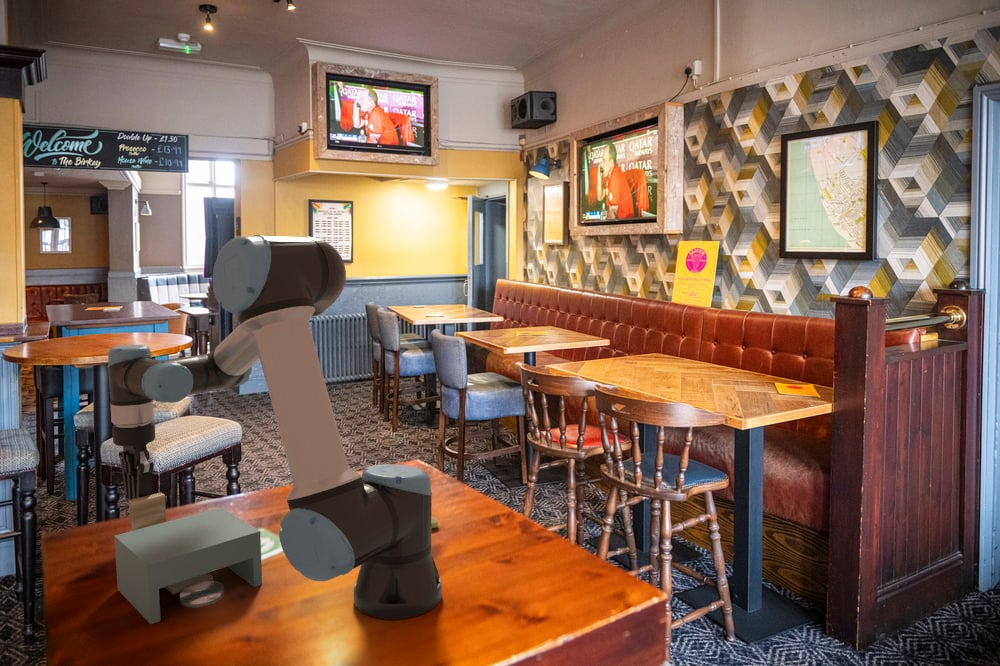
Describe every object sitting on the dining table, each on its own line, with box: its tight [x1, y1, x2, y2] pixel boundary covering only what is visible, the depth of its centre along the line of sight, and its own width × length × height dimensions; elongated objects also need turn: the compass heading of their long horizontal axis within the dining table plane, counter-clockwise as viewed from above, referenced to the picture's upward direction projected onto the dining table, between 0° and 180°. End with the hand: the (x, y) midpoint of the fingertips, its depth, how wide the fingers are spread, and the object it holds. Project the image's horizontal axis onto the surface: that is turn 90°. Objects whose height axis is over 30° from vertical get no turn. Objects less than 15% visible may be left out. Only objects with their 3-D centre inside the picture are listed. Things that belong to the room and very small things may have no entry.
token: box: [179, 580, 225, 608], centre depth 120 cm, size 7×7×2 cm
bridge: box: [113, 507, 263, 625], centre depth 123 cm, size 16×19×10 cm
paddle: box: [128, 492, 214, 595], centre depth 130 cm, size 22×7×11 cm, turn 46°
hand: (140, 535), depth 141 cm, fingers closed
